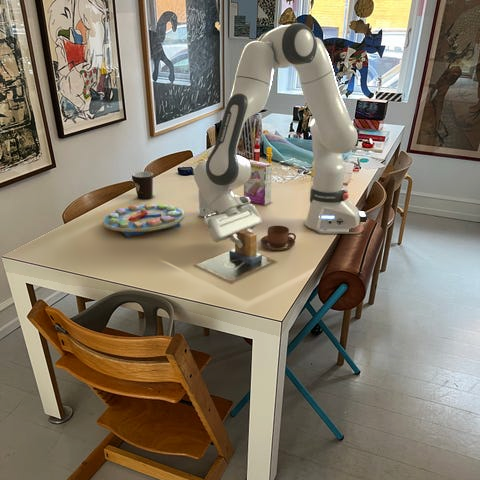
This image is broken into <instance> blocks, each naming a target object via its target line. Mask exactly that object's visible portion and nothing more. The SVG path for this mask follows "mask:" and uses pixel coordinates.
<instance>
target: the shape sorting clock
mask: <svg viewBox="0 0 480 480" xmlns="http://www.w3.org/2000/svg"><path fill="white" fill-rule="evenodd" d="M184 218H185V212H184V210H183V209H182V208H180V207H177V206H173V205H166V204H164V203H159V204H150V203H144V205H138V206H137V205H135V204H134V205H129V206H127V207H125V208H116V209H115V211H113V212H110V213H108V214H106V215H105V217H103V219H102V223H103V226H104V227H105V228H107V229H109V230H111V231H115V232H120V233H122V234H123V235H124V236H125V237H126V238H129V237H133V236H140V235H145V234H149V233H154V232H158V231H162V230H167V229H173V228H177V227H180V224H181V222H182V221H183V220H184Z"/></svg>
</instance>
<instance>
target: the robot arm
mask: <svg viewBox="0 0 480 480" xmlns="http://www.w3.org/2000/svg"><path fill="white" fill-rule="evenodd" d="M289 67H293V68H294V69H295V71H296V73H297V78H298V81H299V85H300V88H301V92H302V94H303V97H304V100H305V104H306V106H307V109H308V110H309V113H310V114H311V116H312V118H313V119H311V122H310V125H309V128H310V129H309V131H310V135H311V145H312V146H311V147H312V157H313V158H312V159H313V170H312V171H313V172H312V185H311V186H310V190H309V191H310V192H309V208H308V211H307V216H306V219H305V221H304V225H305V226H306V227H307V228H309V229H311V230H314V231H316V232H317V233H319V234H327V235H328V234H331V235H332V234H333V235H334V234H337V235H338V234H340V235H341V234H343V235H360V234H359V233H358V232H349V229H351V228H355V227H357V226H358V225H359V223H360V222H366V220H367V221H368V217H367V215H366V213H365V211H361V210H359V208H358V207H357V206H356V205H355V204H354V203H352V202H351V201H350V200H349V195H350V194H349V193H348V189H347V188H344V180H345V170H346V164H345V161H344V154H347V153H349V152H351V151H352V150H353V149H354V148H355V147H356V145H357V143H358V140H359V138H358V137H359V134H358V130H357V129H356V127H355V125H354V124H353V121H352V119H351V116H350V114H349V111H348V109H347V106H346V104H345V103H344V99H343V98H342V95H341V93H340V90H339V86H338V83H337V79H336V76H335V72H334V68H333V65H332V61H331V58H330V56H329V53H328V51H327V48H326V47H325V45H324V42H323V41H322V40H321V38H319V37H316V36H315V34H314V32H313V31H312V29H311V28H310V27H309V26H308V25H307V24H304V23H300V22H296V23H292V24H283V25H280V26H277V27H276V28H273V29H271V30H267V31H265V32H263V33H262V34H261V35H260V36H259V38H258V39H257V40H254V41H251V42H249V43H247V44H246V45H245V46H244V48H243V50H242V53H241V55H240V59H239V61H238V65H237V68H236V72H235V77H234V81H233V87H232V90H231V94H230V97H229V99H228V102H227V104H226V106H225V109H224V113H223V117H222V119H221V120H222V121H221V124H220V128H219V131H218V135H217V139H216V141H215V144H214V147H213V149H212V150H211V152H210V153H209V154H208V157H207V158H206V159H204V160H202V161H200V163H198V164H197V165H196V167H195V169H194V171H193V179H194V182H195V184H196V186H197V188H198V191H199V190H200V192H201V194H202V195H203V197H204V198H205V199H206V200H207V202H208V205H209V208H210V209H211V211H212V213H210V214H207V215H205V217H203V223H204V224H205V226H206V228H207V231H208V233H209V236H210V238H211V239H212V242H215V243H219V242H222V241H225V240H228V239H230V241H231V242H232V243H234V244H235V243H236V244H237V245H238V247H239V248H242V247H244V246H245V244H244V242H243V240H242V241H240V240H239V239H238V238H237V234H236V233H237V232H240V231H242V230H247V231H249V232H252V230H253V229H256V228H258V227H259V226H261V224H262V223H263V222H262V221H263V218H262V216H261V214H260V213H259V210H258V209H257V208H256V207H255V205H253V204H252V202H251V201H250V199H249V197H244V195H242V196H241V195H235V194H234V193H233V190H235V189H238V188H240V187H242V186H244V184H245V183H247V182H248V180H249V179H250V177H251V173H252V169H251V165H250V163H249V160H248V159H247V158H246V157H243V156H242V155H240V154H237V153H238V152H237V150H238V146H239V142H240V138H241V135H242V132H243V128H244V125H245V123H246V121H247V120H248V119H249V118H251V117H252V116H255V115H256V114H258V113H260V112H261V111H262V110H264V108H265V106H266V104H267V101H268V98H269V96H270V91H271V86H272V81H273V76H274V73H275V71H276V69H287V68H289ZM366 223H367V222H366ZM252 233H253V232H252Z"/></svg>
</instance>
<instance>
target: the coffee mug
mask: <svg viewBox="0 0 480 480" xmlns="http://www.w3.org/2000/svg"><path fill="white" fill-rule="evenodd" d="M131 179H132V182H133V184H134V188H135V190H136V191H135V192H136V195H137V199H139V200H142V201H143V200H150V199H153V197H154V195H153V194H154V193H153V192H154V173H153V172H151V171H137V172H134V173H133V174H132V175H131Z"/></svg>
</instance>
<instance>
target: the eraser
mask: <svg viewBox="0 0 480 480" xmlns="http://www.w3.org/2000/svg"><path fill="white" fill-rule="evenodd" d="M236 234H237V238H238V239H239V240H240V241H242V240H243V242H244V244H245V246H244V247H242V248H239V247H238V245H237V244H236V243H234V248H231V249H229V250H228V251H229V256H231V257H234V258H236V259H238V260H240V261H243V262H245V263H247V264H250V265H253V264H255V263H257V262H259V261H262V256H263V255H262V254H261V253H258V252H257V238H258V237H257V233H255V232H249V231H247V230H242V231H240V232H237V233H236Z"/></svg>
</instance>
